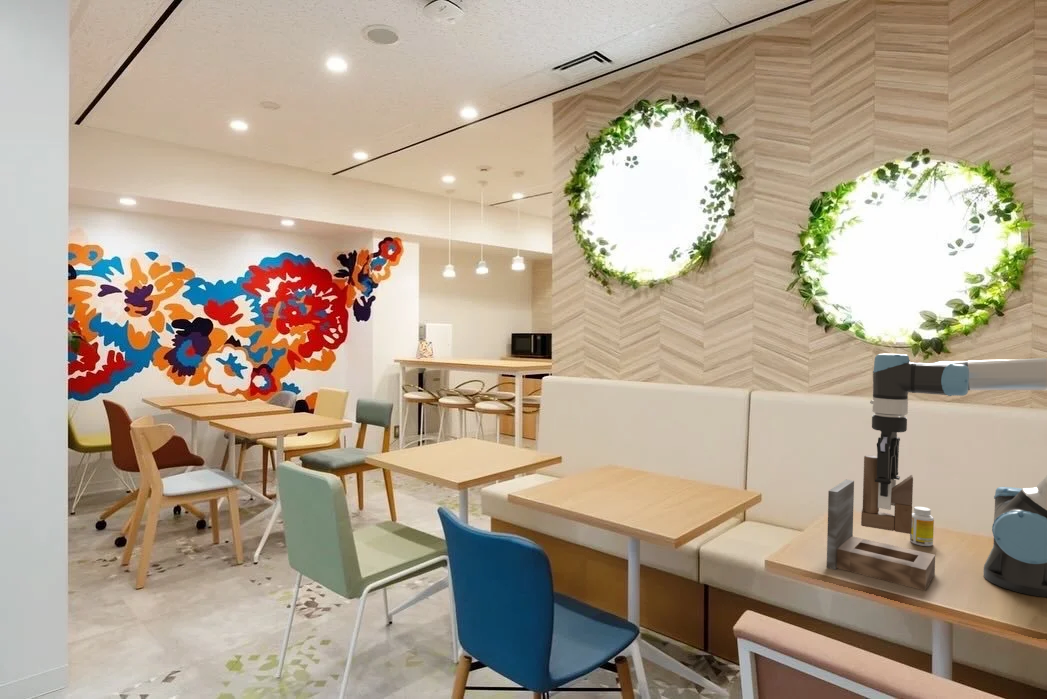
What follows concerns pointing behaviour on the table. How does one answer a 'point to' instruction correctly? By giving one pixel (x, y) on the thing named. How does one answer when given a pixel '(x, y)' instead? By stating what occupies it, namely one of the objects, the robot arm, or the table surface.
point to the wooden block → (898, 496)
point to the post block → (870, 547)
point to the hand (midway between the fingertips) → (886, 506)
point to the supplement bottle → (922, 527)
